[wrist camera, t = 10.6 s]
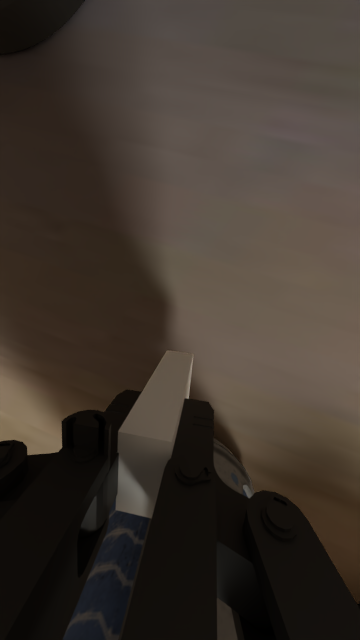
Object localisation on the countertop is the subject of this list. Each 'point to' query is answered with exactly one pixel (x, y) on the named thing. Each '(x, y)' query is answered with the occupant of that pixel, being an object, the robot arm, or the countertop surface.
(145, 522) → the beverage bottle
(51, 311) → the countertop surface
